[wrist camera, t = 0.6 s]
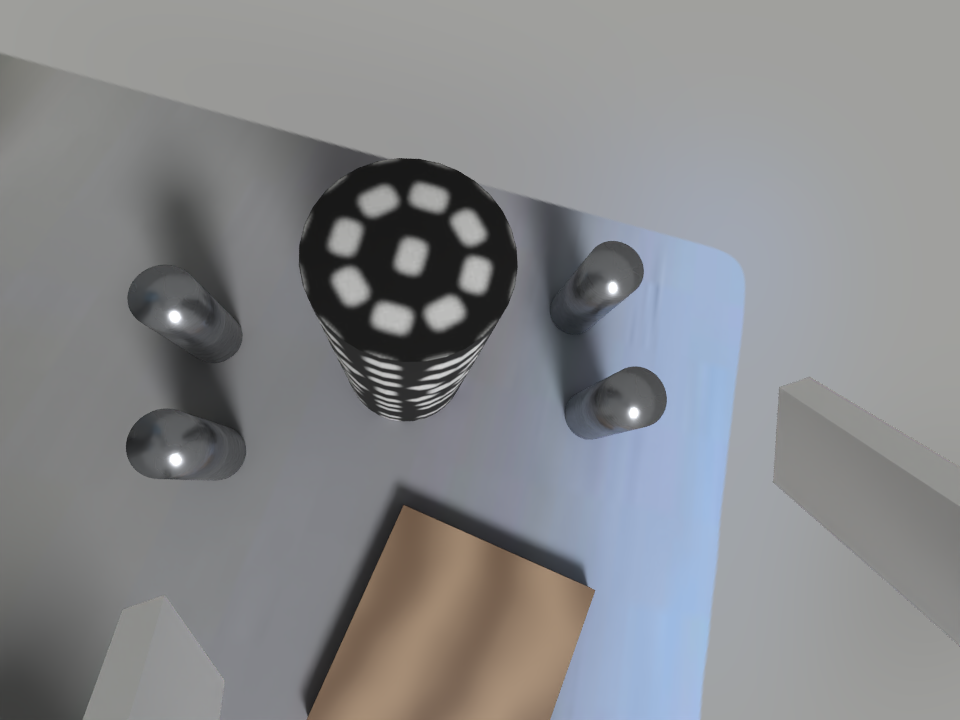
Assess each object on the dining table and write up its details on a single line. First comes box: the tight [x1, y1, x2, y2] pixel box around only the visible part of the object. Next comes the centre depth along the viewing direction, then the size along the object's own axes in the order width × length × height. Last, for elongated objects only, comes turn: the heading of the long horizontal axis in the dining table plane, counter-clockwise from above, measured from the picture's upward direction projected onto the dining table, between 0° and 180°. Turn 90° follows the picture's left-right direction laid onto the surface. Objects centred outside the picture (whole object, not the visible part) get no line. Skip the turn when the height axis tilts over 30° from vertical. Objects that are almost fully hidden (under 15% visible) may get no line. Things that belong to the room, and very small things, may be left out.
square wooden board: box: [307, 505, 595, 720], centre depth 37 cm, size 14×14×2 cm
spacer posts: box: [126, 241, 667, 480], centre depth 37 cm, size 30×24×9 cm
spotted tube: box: [299, 158, 518, 421], centre depth 32 cm, size 8×8×20 cm
